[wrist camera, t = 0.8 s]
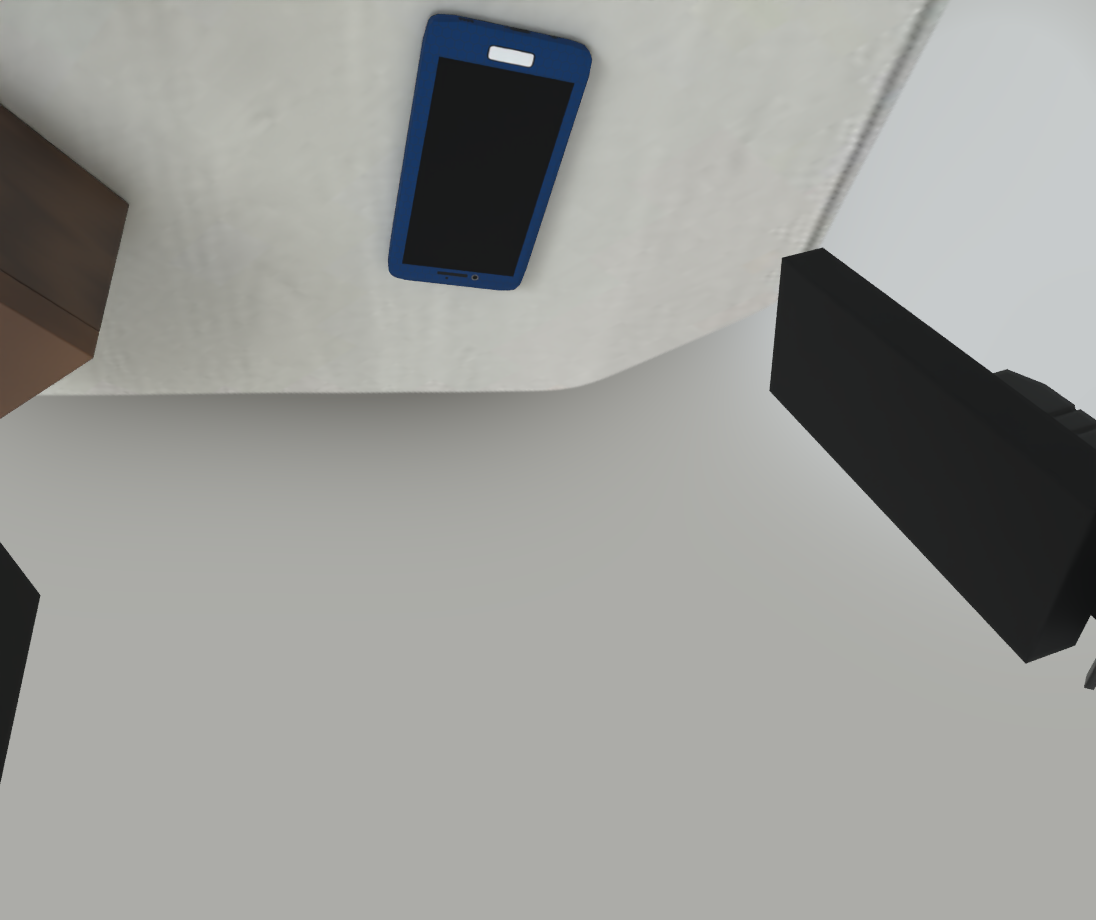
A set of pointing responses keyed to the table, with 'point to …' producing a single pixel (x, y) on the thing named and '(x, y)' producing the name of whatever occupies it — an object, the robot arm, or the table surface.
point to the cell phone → (482, 150)
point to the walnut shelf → (50, 261)
